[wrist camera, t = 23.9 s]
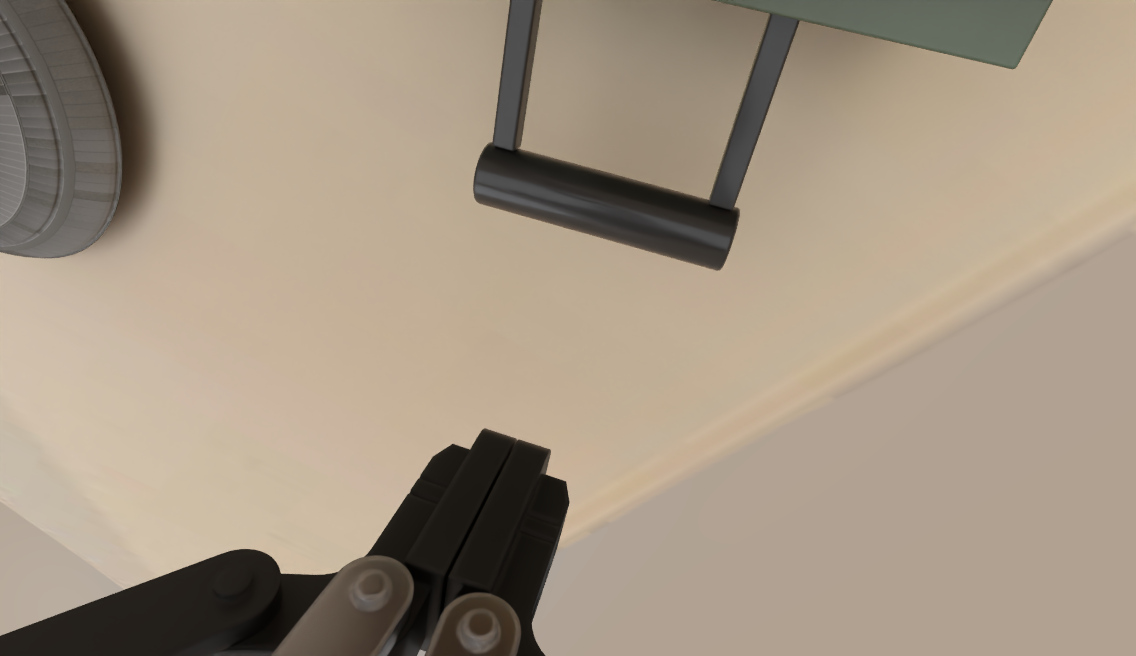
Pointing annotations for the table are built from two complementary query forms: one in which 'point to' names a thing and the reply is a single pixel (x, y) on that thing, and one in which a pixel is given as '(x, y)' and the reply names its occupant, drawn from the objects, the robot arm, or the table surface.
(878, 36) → the drawer
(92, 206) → the flying saucer
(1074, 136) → the table surface
